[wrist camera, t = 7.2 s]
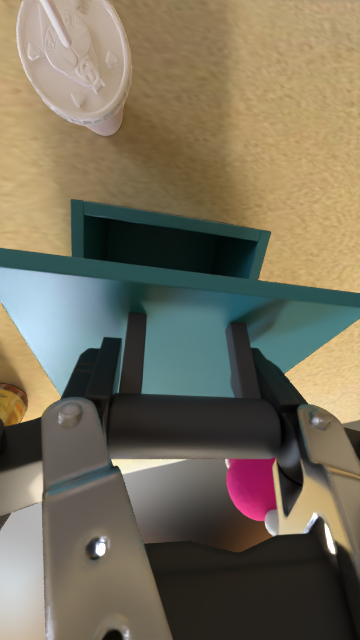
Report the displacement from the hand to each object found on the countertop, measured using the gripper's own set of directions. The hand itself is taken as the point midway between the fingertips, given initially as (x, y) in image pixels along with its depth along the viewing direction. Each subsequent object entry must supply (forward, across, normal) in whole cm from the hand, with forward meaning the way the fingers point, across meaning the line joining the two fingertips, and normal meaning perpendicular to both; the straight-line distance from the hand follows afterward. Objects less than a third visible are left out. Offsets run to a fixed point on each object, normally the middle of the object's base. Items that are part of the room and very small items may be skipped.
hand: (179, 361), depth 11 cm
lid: (+4, 0, +3) cm, 5 cm away
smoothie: (+21, +7, -13) cm, 26 cm away
